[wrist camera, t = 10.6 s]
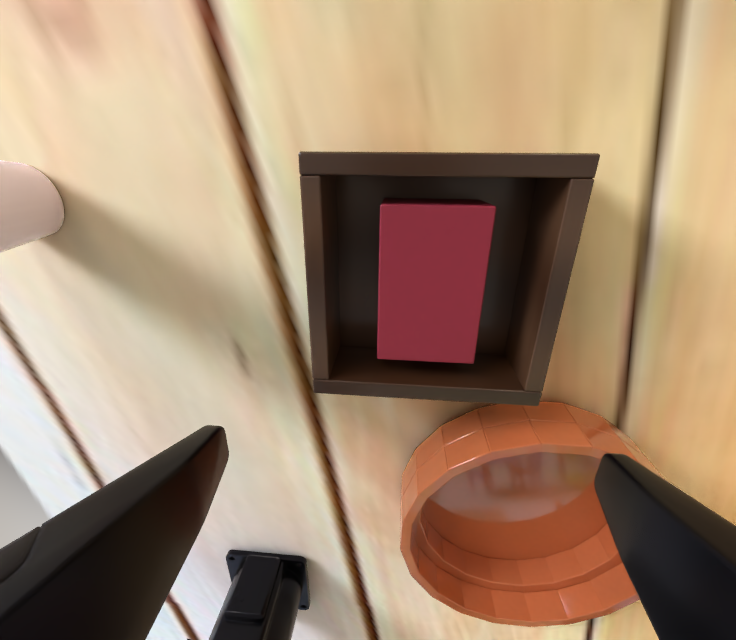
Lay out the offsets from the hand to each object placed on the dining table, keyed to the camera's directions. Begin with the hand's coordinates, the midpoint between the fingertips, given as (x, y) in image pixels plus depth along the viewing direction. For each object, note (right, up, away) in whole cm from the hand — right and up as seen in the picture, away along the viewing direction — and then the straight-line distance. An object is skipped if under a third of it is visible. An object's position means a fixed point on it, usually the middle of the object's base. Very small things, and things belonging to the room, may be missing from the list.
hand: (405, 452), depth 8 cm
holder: (+2, +6, +10) cm, 12 cm away
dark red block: (+2, +6, +9) cm, 11 cm away
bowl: (+9, -8, +15) cm, 19 cm away
